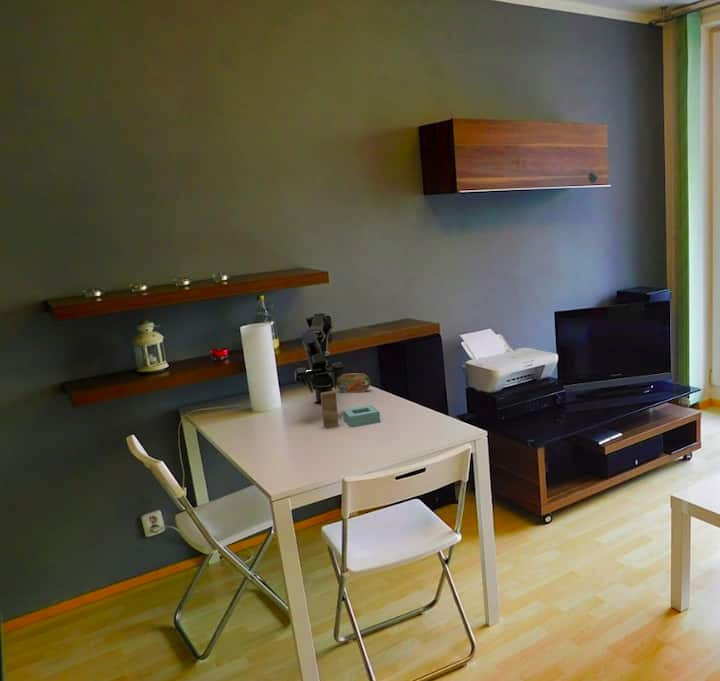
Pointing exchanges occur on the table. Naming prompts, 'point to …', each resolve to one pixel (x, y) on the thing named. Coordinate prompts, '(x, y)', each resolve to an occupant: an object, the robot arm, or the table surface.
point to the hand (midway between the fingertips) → (324, 390)
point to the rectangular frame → (361, 416)
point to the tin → (353, 383)
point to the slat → (329, 409)
